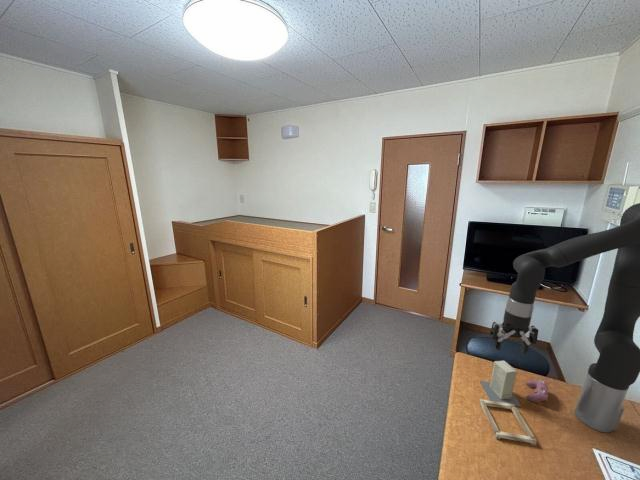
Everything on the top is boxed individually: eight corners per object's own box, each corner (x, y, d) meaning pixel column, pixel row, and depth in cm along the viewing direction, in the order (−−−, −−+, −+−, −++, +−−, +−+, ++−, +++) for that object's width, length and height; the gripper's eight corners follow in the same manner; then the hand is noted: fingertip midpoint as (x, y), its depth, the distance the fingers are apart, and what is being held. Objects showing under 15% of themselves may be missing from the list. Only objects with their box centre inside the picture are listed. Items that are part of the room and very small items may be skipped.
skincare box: (511, 399, 97) (518, 372, 94) (500, 399, 97) (507, 372, 94) (498, 385, 103) (504, 360, 100) (488, 386, 103) (494, 360, 100)
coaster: (506, 385, 104) (507, 384, 104) (520, 407, 95) (521, 405, 94) (480, 381, 106) (480, 380, 106) (491, 402, 96) (491, 401, 96)
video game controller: (537, 408, 96) (552, 399, 93) (524, 398, 98) (539, 388, 94) (536, 391, 104) (550, 382, 100) (524, 382, 106) (537, 372, 102)
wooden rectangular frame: (512, 408, 94) (513, 404, 93) (535, 445, 81) (537, 440, 81) (478, 403, 96) (479, 399, 95) (495, 438, 83) (497, 434, 83)
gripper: (534, 307, 93) (525, 346, 98) (491, 304, 96) (484, 341, 100) (548, 318, 86) (537, 359, 90) (501, 314, 89) (493, 354, 93)
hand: (509, 350), depth 95 cm, fingers open, 8 cm apart
